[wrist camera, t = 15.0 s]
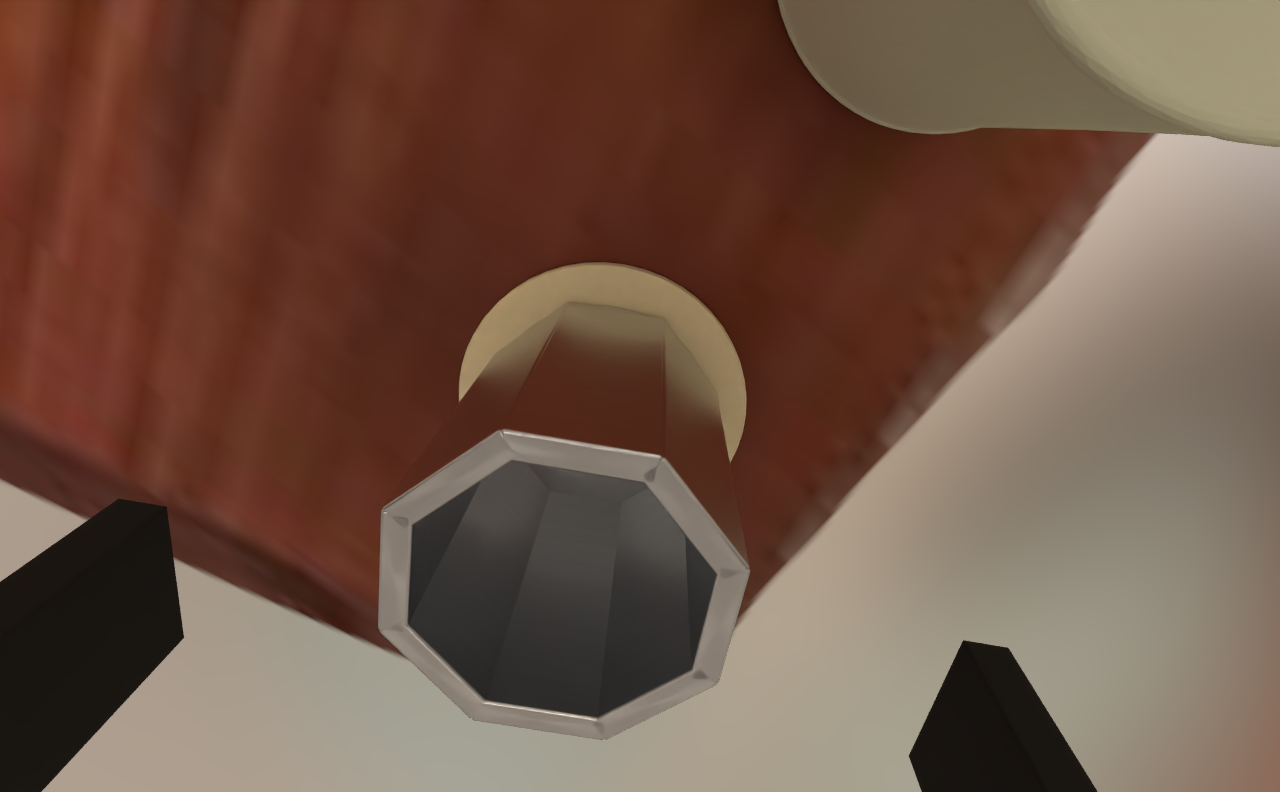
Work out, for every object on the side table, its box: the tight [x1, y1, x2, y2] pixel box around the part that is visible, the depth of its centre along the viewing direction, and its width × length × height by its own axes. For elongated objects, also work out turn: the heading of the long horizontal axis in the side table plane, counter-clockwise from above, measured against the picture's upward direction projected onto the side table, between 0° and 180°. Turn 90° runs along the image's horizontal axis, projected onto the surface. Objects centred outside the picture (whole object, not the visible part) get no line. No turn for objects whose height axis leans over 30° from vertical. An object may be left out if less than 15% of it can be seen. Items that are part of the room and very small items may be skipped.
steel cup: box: [378, 302, 750, 740], centre depth 17 cm, size 7×7×9 cm
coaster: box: [459, 262, 747, 462], centre depth 21 cm, size 9×9×1 cm
